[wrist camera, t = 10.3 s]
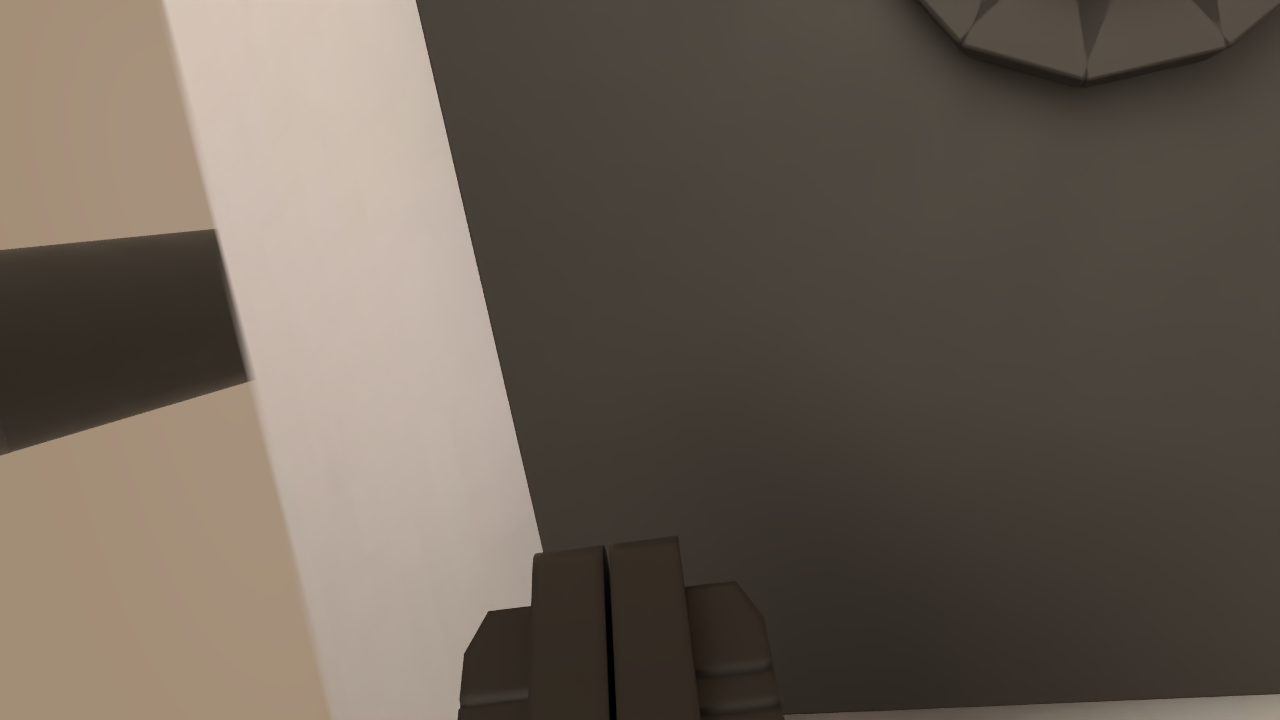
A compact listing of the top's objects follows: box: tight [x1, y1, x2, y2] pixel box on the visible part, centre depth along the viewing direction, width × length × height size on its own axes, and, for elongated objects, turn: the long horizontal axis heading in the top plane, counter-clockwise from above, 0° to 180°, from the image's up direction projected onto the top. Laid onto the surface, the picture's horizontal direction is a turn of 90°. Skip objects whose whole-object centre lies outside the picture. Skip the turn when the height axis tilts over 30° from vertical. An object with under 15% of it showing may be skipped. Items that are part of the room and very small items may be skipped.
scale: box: [416, 0, 1280, 715], centre depth 18 cm, size 15×16×3 cm
